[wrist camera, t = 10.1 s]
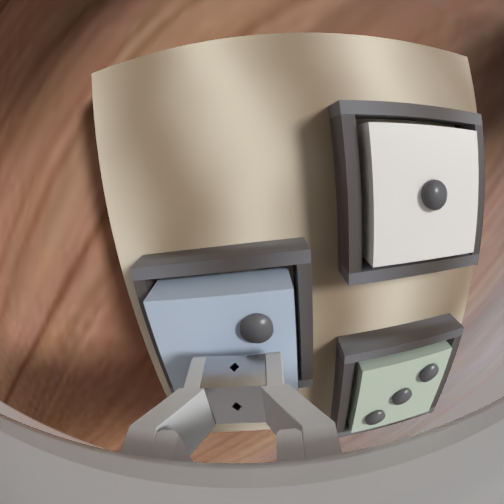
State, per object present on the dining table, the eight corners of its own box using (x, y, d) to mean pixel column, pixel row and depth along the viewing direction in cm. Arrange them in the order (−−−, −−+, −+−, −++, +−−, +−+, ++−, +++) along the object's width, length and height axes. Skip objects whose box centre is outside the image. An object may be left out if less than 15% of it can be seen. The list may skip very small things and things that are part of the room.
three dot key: (344, 410, 15) (351, 435, 13) (352, 347, 13) (364, 374, 11) (417, 392, 15) (429, 413, 13) (436, 328, 13) (454, 350, 11)
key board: (187, 408, 17) (178, 448, 14) (111, 81, 11) (73, 66, 8) (426, 375, 17) (446, 407, 13) (445, 63, 10) (485, 51, 7)
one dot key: (357, 250, 11) (375, 269, 10) (350, 125, 10) (370, 121, 8) (451, 239, 11) (476, 253, 9) (451, 130, 10) (479, 130, 8)
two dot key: (186, 375, 13) (178, 405, 11) (158, 279, 11) (141, 304, 9) (293, 367, 12) (298, 399, 11) (287, 266, 11) (294, 291, 9)
